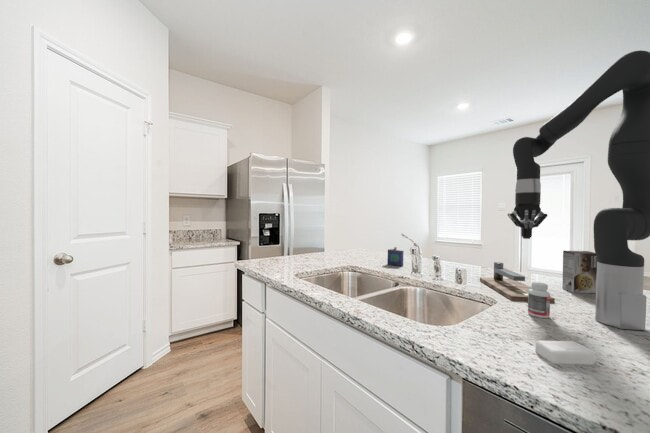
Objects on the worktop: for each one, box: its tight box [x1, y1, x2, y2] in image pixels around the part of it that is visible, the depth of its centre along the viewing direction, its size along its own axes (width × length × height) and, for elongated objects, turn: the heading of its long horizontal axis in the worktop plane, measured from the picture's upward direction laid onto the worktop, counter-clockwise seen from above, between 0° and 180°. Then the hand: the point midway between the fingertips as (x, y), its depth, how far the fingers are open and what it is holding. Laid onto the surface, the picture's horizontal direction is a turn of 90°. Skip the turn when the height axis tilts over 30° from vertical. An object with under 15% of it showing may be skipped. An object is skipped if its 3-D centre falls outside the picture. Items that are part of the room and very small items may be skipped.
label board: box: [479, 277, 556, 304], centre depth 112 cm, size 28×14×2 cm, turn 172°
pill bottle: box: [527, 281, 551, 319], centre depth 85 cm, size 5×5×10 cm
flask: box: [386, 246, 404, 267], centre depth 161 cm, size 9×3×11 cm, turn 61°
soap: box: [534, 340, 596, 366], centre depth 60 cm, size 9×6×3 cm, turn 90°
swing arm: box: [493, 261, 526, 282], centre depth 116 cm, size 19×4×7 cm, turn 172°
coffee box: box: [561, 250, 598, 294], centre depth 112 cm, size 9×6×16 cm
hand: (526, 238), depth 103 cm, fingers closed
